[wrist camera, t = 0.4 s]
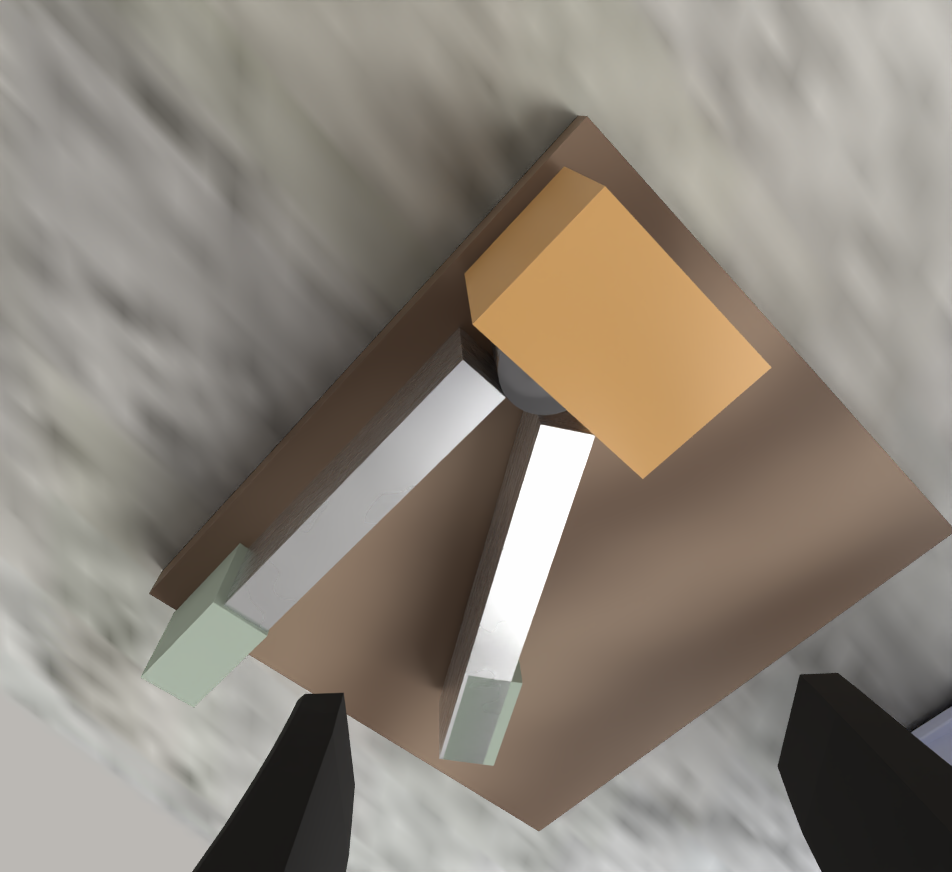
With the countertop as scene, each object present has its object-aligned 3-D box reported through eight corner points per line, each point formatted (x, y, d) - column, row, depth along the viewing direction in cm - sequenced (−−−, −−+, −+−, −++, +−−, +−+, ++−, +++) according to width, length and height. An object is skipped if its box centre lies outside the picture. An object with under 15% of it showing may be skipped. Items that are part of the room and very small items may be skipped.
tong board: (932, 511, 20) (1021, 585, 17) (533, 806, 25) (546, 906, 22) (578, 115, 15) (613, 117, 12) (160, 573, 20) (108, 659, 17)
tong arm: (589, 402, 17) (608, 438, 15) (488, 708, 21) (493, 765, 19) (529, 389, 16) (541, 424, 15) (439, 701, 21) (439, 758, 19)
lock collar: (697, 308, 16) (771, 367, 12) (599, 400, 17) (642, 479, 13) (564, 166, 14) (604, 185, 11) (464, 273, 15) (473, 324, 12)
